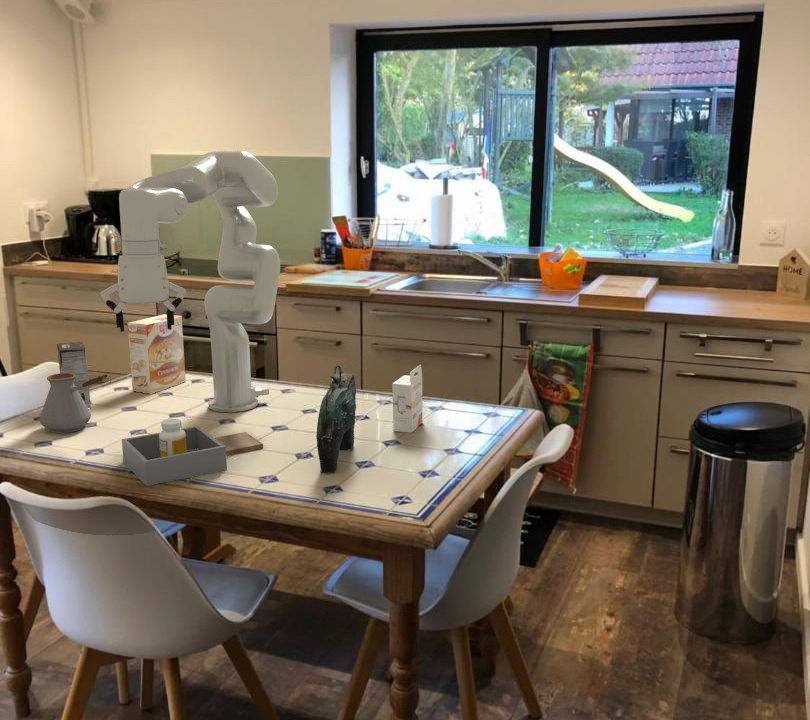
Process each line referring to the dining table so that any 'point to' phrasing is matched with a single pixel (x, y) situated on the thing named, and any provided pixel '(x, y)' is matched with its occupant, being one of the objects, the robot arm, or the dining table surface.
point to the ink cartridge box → (407, 402)
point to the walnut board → (239, 443)
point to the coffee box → (75, 365)
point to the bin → (174, 457)
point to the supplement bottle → (172, 438)
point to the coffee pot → (66, 404)
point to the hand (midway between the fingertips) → (146, 329)
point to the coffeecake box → (156, 354)
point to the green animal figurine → (336, 420)
